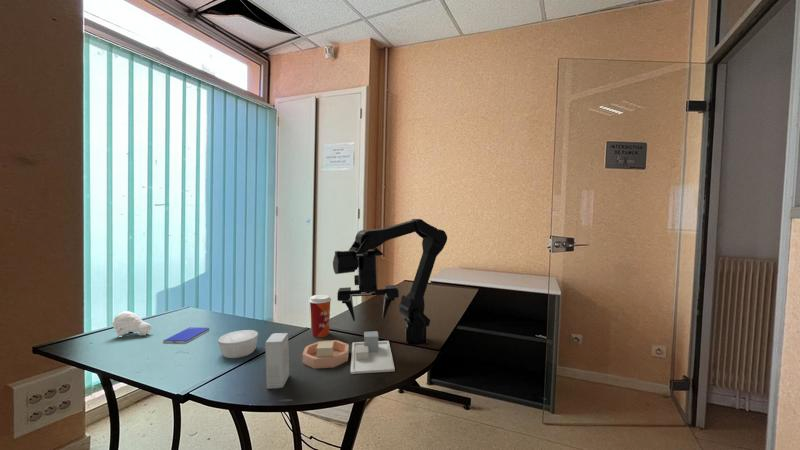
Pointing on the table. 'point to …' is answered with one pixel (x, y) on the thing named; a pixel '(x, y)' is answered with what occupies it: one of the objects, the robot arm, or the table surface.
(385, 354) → the parts tray
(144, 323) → the white animal figurine
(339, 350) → the terracotta dish
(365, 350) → the beige grey block
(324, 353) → the cream cube
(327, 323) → the paper cup
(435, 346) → the table surface
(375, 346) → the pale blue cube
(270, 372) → the skincare box
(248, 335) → the ramekin
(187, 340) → the hard drive
